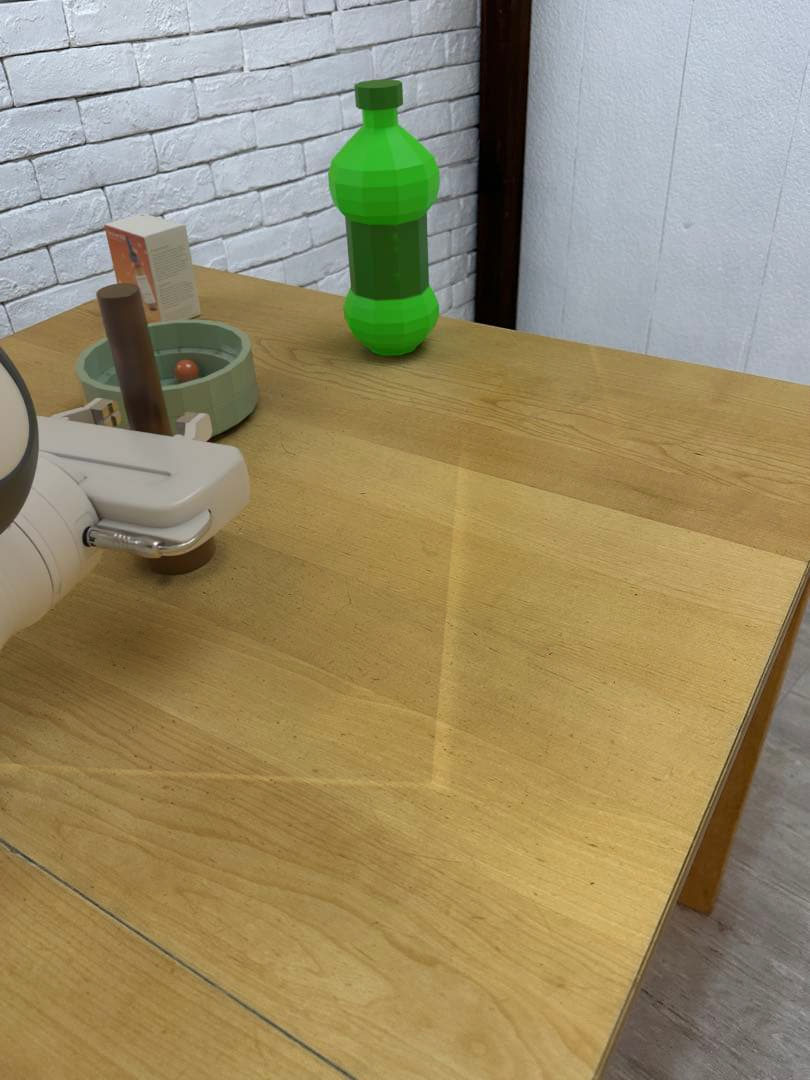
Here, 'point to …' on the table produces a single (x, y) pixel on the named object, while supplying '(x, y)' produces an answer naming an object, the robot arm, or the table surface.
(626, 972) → the table surface
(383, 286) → the plastic bottle
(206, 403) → the bowl
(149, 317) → the small box
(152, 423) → the pestle
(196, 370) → the bead
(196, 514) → the robot arm
